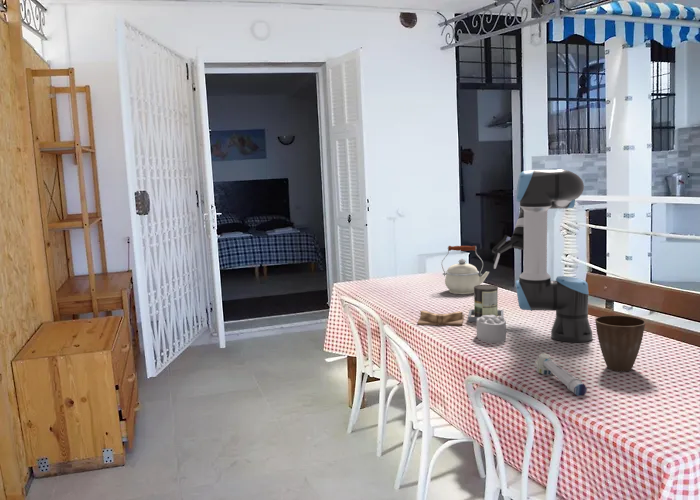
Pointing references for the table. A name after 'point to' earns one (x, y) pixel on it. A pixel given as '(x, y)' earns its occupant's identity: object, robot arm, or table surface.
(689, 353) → the table surface
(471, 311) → the gray square tray
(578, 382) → the toothbrush head
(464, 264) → the kettle
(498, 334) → the lumpy-topped squat cylinder
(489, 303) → the coffee can
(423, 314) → the brown flat cloth piece
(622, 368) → the plant pot
